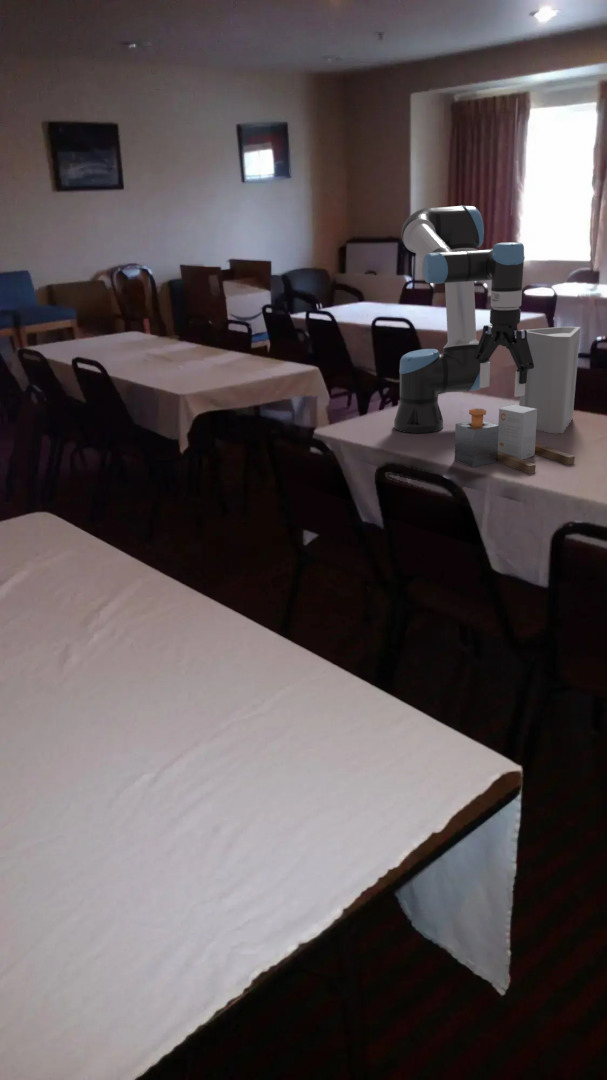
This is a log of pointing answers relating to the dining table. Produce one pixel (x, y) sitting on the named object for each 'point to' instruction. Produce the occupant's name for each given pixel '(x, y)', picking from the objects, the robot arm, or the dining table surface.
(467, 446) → the grey block with hole
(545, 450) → the track
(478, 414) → the orange piece
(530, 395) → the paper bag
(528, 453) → the small box
